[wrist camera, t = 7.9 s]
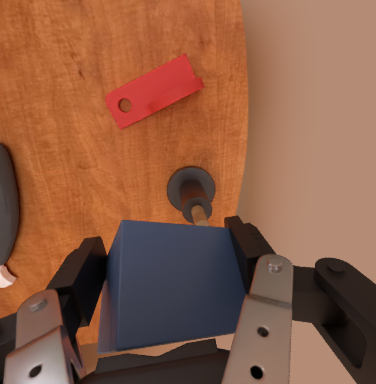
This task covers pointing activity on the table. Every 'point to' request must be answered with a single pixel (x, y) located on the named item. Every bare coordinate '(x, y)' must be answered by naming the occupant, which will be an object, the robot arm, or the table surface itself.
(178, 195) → the dowel stand
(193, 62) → the table surface
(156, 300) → the holed block
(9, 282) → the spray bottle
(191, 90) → the bracket
